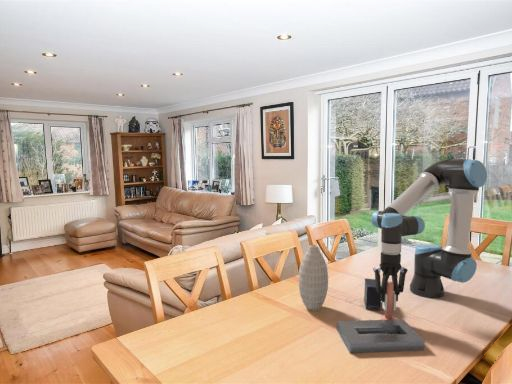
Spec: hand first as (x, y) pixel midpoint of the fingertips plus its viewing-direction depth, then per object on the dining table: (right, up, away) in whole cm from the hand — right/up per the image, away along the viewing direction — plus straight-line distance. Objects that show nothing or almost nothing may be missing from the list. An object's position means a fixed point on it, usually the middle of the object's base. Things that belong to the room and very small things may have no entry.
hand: (388, 308), depth 143 cm
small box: (-2, -4, +15) cm, 16 cm away
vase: (-29, -4, +13) cm, 32 cm away
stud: (0, -5, +1) cm, 5 cm away
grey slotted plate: (-9, -7, -14) cm, 18 cm away
